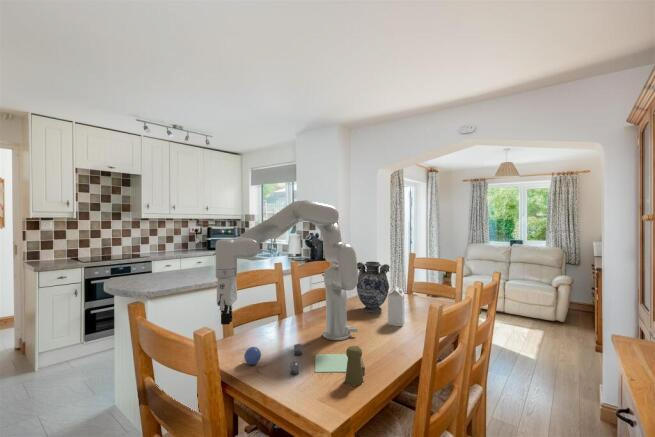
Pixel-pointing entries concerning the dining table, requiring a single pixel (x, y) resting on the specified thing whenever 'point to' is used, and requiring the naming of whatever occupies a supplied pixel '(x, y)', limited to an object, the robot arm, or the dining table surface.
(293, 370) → the post
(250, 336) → the dining table surface
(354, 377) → the olive knobbed tapered cylinder
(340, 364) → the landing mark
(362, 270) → the decorative vase
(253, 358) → the ball
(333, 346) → the dining table surface
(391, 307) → the milk carton
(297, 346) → the post
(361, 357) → the stopper strip
